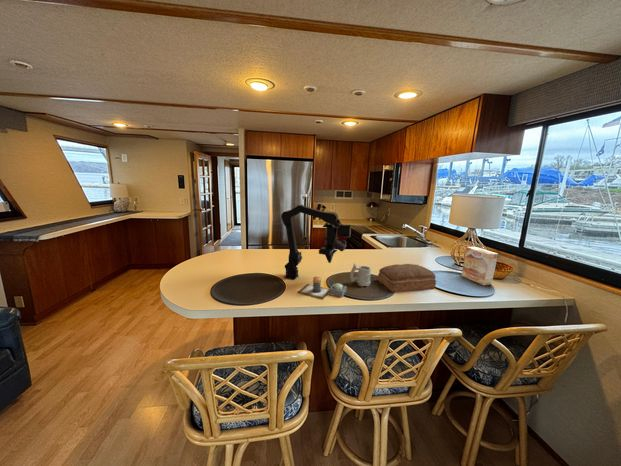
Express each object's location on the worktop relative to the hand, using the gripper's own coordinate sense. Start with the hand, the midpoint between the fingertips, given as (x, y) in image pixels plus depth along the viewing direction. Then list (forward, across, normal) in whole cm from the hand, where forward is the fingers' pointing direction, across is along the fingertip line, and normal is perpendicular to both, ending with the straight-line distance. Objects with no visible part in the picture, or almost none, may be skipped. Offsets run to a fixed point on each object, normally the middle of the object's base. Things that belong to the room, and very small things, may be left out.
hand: (329, 262), depth 135 cm
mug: (+12, +8, -16) cm, 22 cm away
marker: (+11, -14, +1) cm, 18 cm away
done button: (+12, -9, -9) cm, 17 cm away
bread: (+12, +22, -39) cm, 47 cm away
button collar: (+12, -9, -9) cm, 17 cm away
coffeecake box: (+12, +52, -78) cm, 94 cm away
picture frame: (+12, -14, +2) cm, 19 cm away
